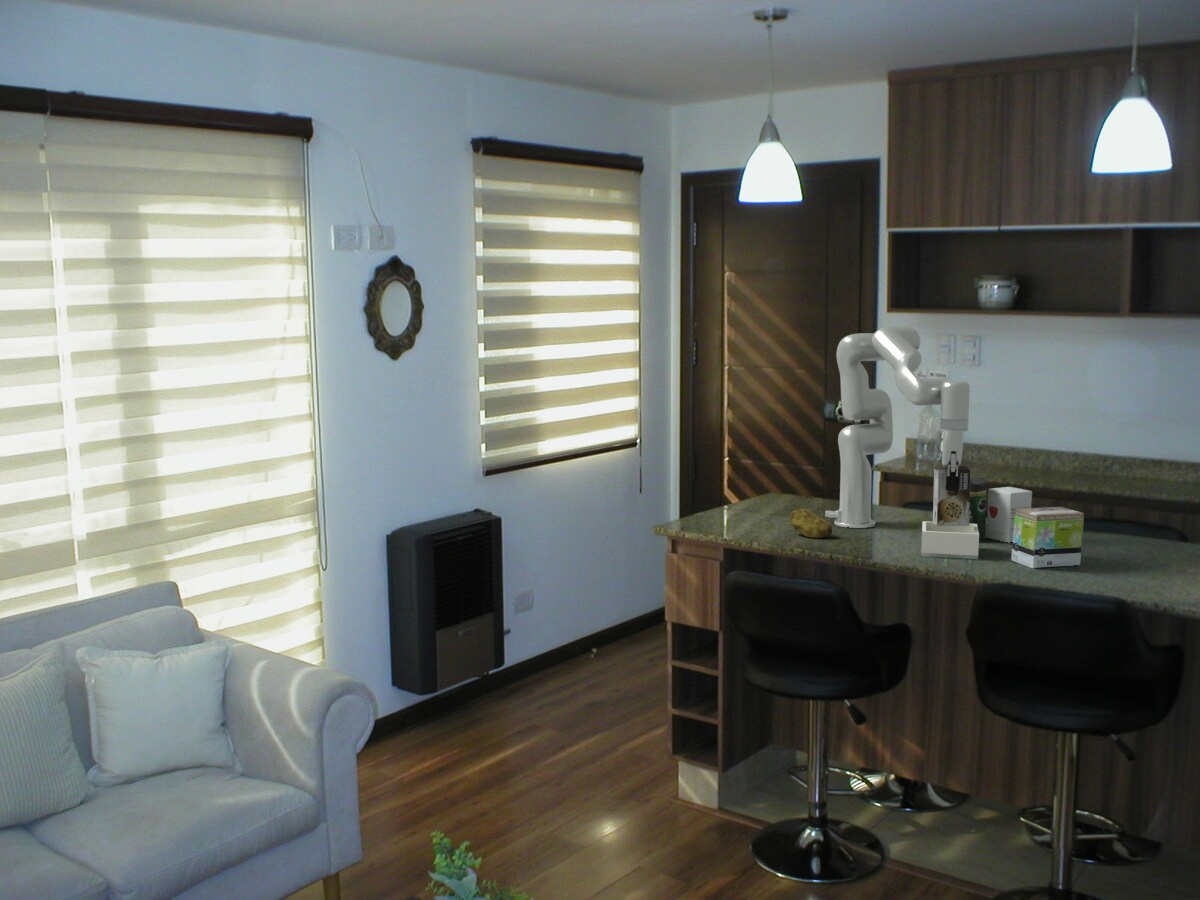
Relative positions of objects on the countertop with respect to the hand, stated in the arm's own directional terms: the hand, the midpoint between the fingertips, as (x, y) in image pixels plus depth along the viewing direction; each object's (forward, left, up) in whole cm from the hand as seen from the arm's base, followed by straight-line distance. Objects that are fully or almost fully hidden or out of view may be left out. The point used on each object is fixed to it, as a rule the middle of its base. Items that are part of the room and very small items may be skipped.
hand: (951, 487), depth 327 cm
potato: (-40, +12, -19) cm, 46 cm away
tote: (0, 0, -18) cm, 18 cm away
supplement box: (+17, +23, -19) cm, 34 cm away
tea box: (+25, -7, -19) cm, 32 cm away
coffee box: (0, 0, -10) cm, 10 cm away
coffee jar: (+6, +20, -19) cm, 28 cm away
